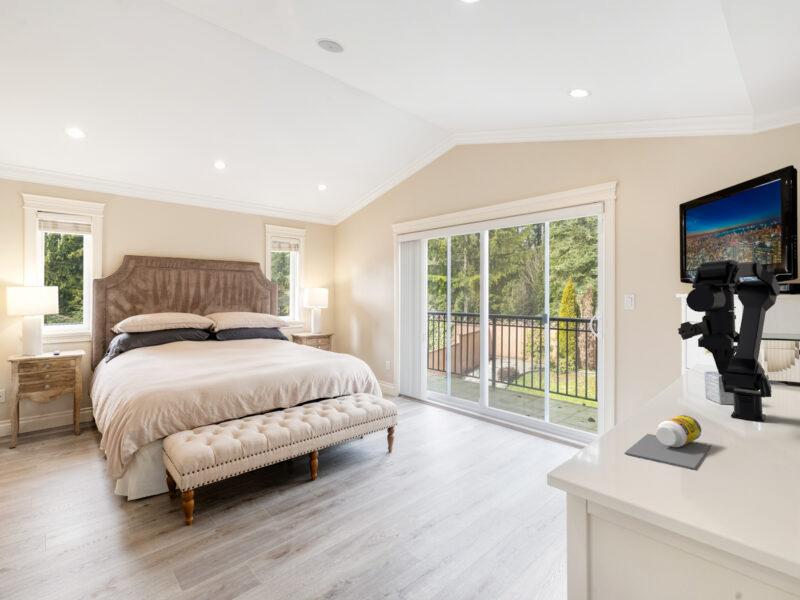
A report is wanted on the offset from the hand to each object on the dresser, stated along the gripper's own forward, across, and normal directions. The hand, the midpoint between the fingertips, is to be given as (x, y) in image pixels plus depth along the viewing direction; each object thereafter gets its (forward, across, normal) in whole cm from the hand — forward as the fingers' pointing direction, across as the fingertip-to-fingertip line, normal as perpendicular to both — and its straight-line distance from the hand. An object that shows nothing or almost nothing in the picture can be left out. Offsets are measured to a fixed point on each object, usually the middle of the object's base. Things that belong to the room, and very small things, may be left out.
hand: (722, 374), depth 99 cm
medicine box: (+13, -30, -5) cm, 33 cm away
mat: (+14, +26, -6) cm, 30 cm away
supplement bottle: (+10, +16, -4) cm, 20 cm away
